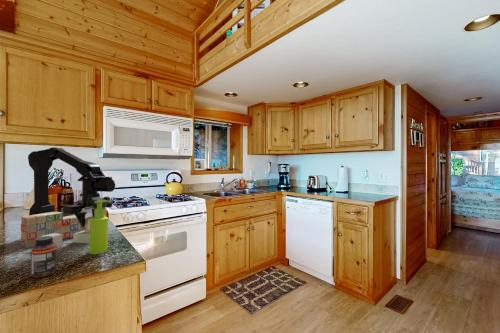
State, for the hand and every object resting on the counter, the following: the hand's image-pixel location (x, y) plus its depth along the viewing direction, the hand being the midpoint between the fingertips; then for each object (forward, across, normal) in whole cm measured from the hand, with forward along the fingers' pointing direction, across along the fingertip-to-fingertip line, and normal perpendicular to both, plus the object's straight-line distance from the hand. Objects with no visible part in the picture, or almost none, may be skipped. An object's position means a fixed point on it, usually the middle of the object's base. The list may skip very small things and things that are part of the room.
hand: (89, 225), depth 104 cm
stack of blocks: (+7, -5, +15) cm, 17 cm away
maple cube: (+2, 0, 0) cm, 2 cm away
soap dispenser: (+7, -8, -17) cm, 20 cm away
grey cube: (+7, -12, +5) cm, 15 cm away
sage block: (+7, 0, 0) cm, 7 cm away
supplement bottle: (+7, -28, -19) cm, 34 cm away
